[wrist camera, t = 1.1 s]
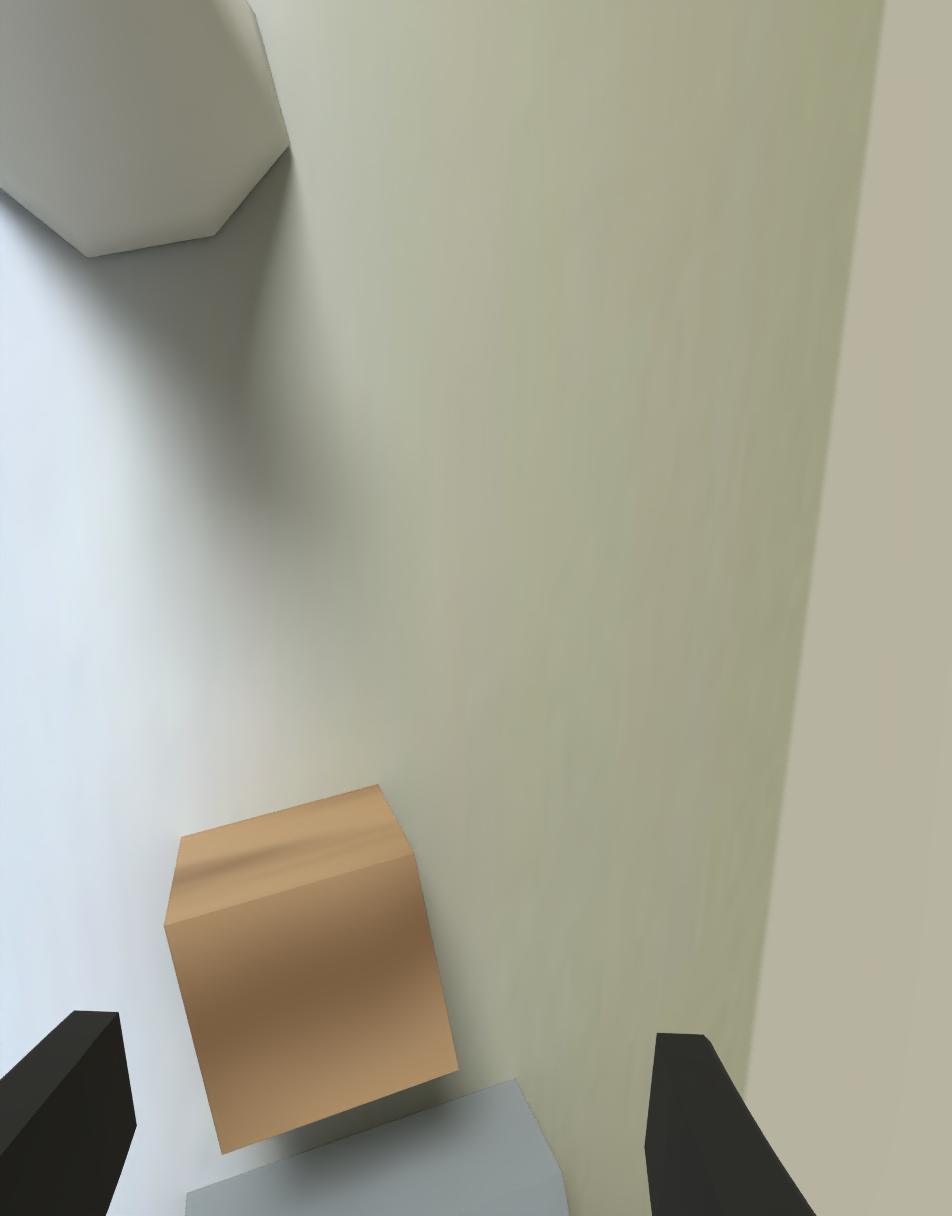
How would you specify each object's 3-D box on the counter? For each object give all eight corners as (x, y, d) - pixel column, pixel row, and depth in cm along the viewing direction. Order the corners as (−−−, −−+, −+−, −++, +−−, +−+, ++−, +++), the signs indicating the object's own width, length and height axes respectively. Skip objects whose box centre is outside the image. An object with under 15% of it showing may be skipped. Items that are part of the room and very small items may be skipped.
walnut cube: (414, 957, 23) (458, 1069, 18) (226, 1018, 22) (222, 1154, 17) (377, 783, 22) (414, 852, 18) (181, 836, 21) (164, 925, 16)
